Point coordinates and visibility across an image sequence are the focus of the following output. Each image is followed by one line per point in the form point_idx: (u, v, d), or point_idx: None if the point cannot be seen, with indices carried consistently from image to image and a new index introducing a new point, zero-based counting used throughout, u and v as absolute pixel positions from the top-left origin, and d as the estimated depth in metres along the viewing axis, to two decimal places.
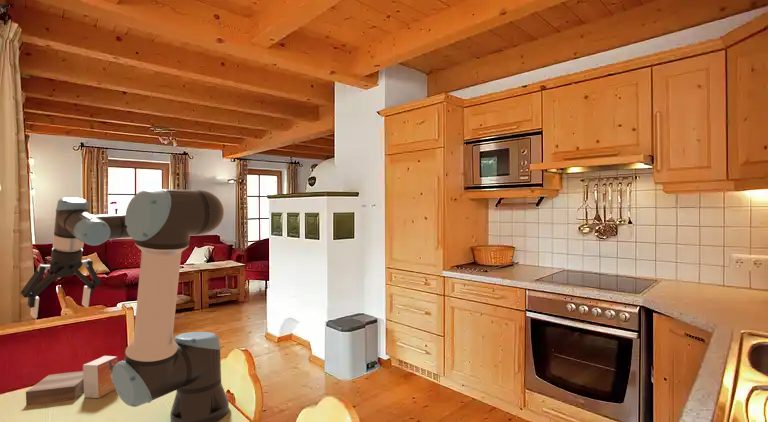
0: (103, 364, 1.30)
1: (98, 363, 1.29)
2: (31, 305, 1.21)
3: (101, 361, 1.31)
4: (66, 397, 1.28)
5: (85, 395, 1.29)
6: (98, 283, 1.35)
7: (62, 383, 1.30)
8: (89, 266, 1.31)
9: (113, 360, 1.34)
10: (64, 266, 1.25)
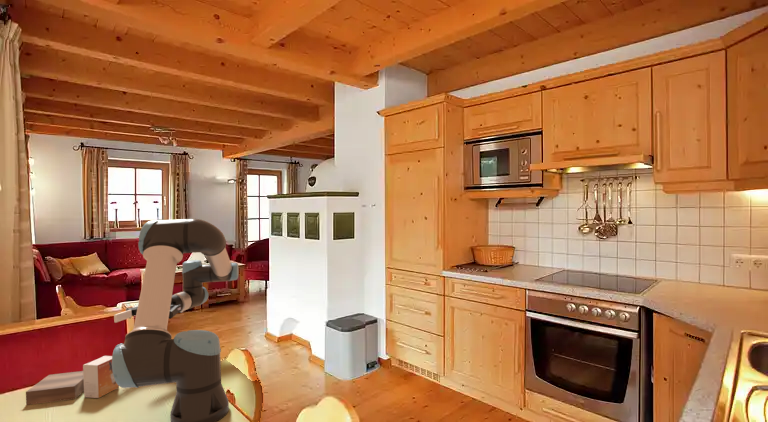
0: (103, 364, 1.30)
1: (98, 363, 1.29)
2: None
3: (101, 361, 1.31)
4: (66, 397, 1.28)
5: (85, 395, 1.29)
6: (169, 311, 1.48)
7: (62, 383, 1.30)
8: (175, 306, 1.55)
9: None
10: None
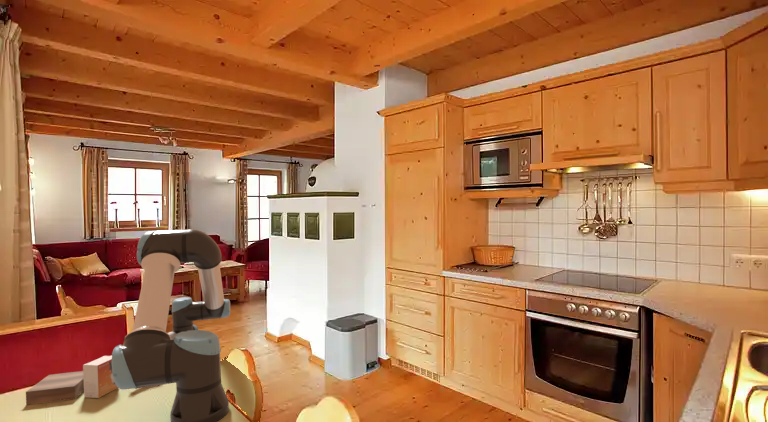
0: (103, 364, 1.30)
1: (98, 363, 1.29)
2: None
3: (101, 361, 1.31)
4: (66, 397, 1.28)
5: (85, 395, 1.29)
6: None
7: (62, 383, 1.30)
8: None
9: None
10: None
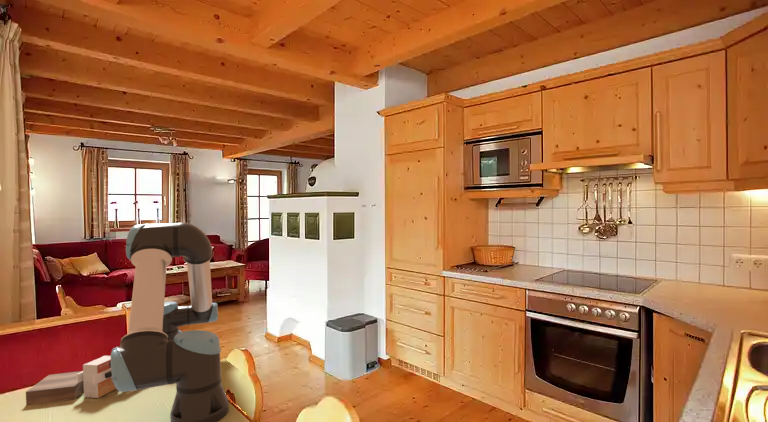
0: (103, 364, 1.30)
1: (98, 363, 1.29)
2: None
3: (100, 361, 1.31)
4: (66, 397, 1.28)
5: (85, 395, 1.29)
6: None
7: (62, 383, 1.30)
8: None
9: None
10: None
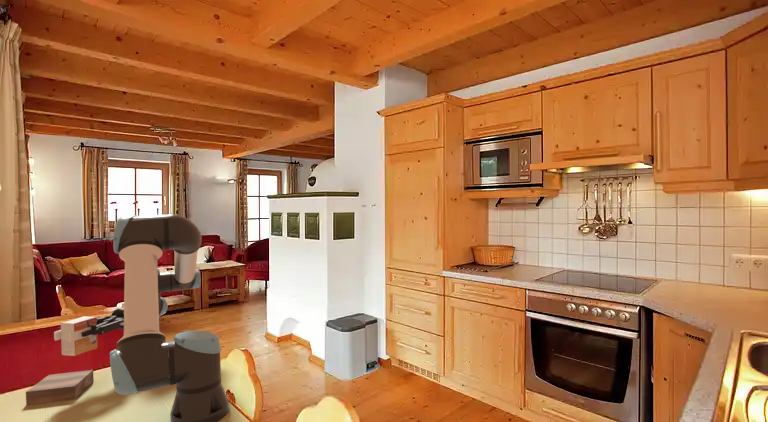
0: (80, 323, 1.31)
1: (75, 322, 1.31)
2: None
3: (78, 320, 1.32)
4: (66, 397, 1.28)
5: (62, 353, 1.30)
6: (100, 326, 1.34)
7: (62, 383, 1.30)
8: (119, 320, 1.42)
9: (92, 320, 1.35)
10: None
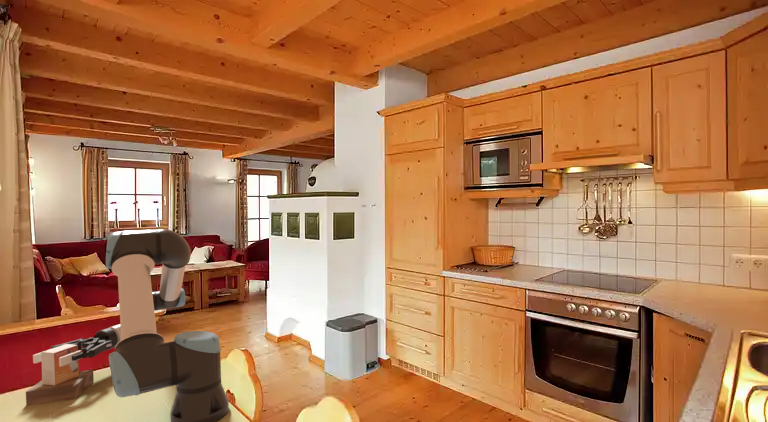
0: (60, 352, 1.31)
1: (56, 351, 1.30)
2: None
3: (59, 349, 1.32)
4: (66, 397, 1.28)
5: (43, 382, 1.30)
6: (90, 349, 1.34)
7: (62, 383, 1.30)
8: (105, 342, 1.42)
9: (73, 348, 1.34)
10: (95, 339, 1.45)
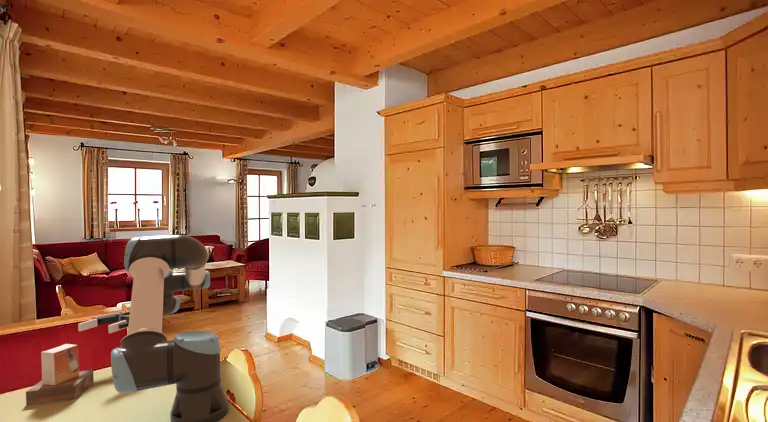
0: (60, 352, 1.30)
1: (56, 351, 1.30)
2: None
3: (59, 349, 1.32)
4: (66, 397, 1.28)
5: (43, 382, 1.30)
6: None
7: (62, 383, 1.30)
8: None
9: (73, 348, 1.34)
10: None
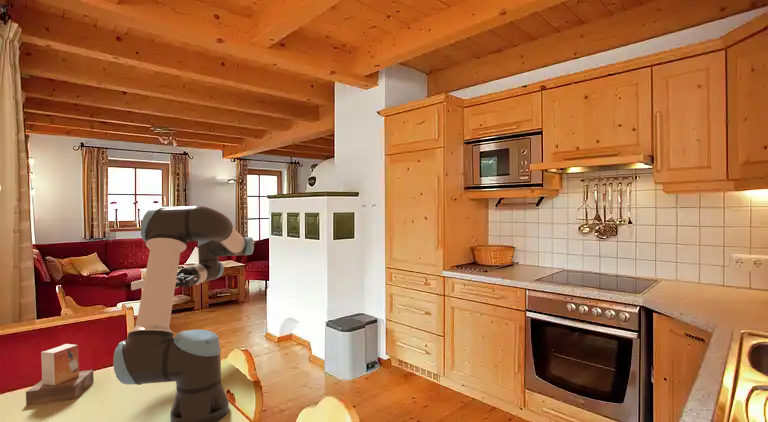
0: (60, 352, 1.31)
1: (56, 351, 1.30)
2: None
3: (59, 349, 1.32)
4: (66, 397, 1.28)
5: (43, 382, 1.30)
6: None
7: (62, 383, 1.30)
8: (192, 276, 1.54)
9: (73, 348, 1.34)
10: (179, 275, 1.57)
